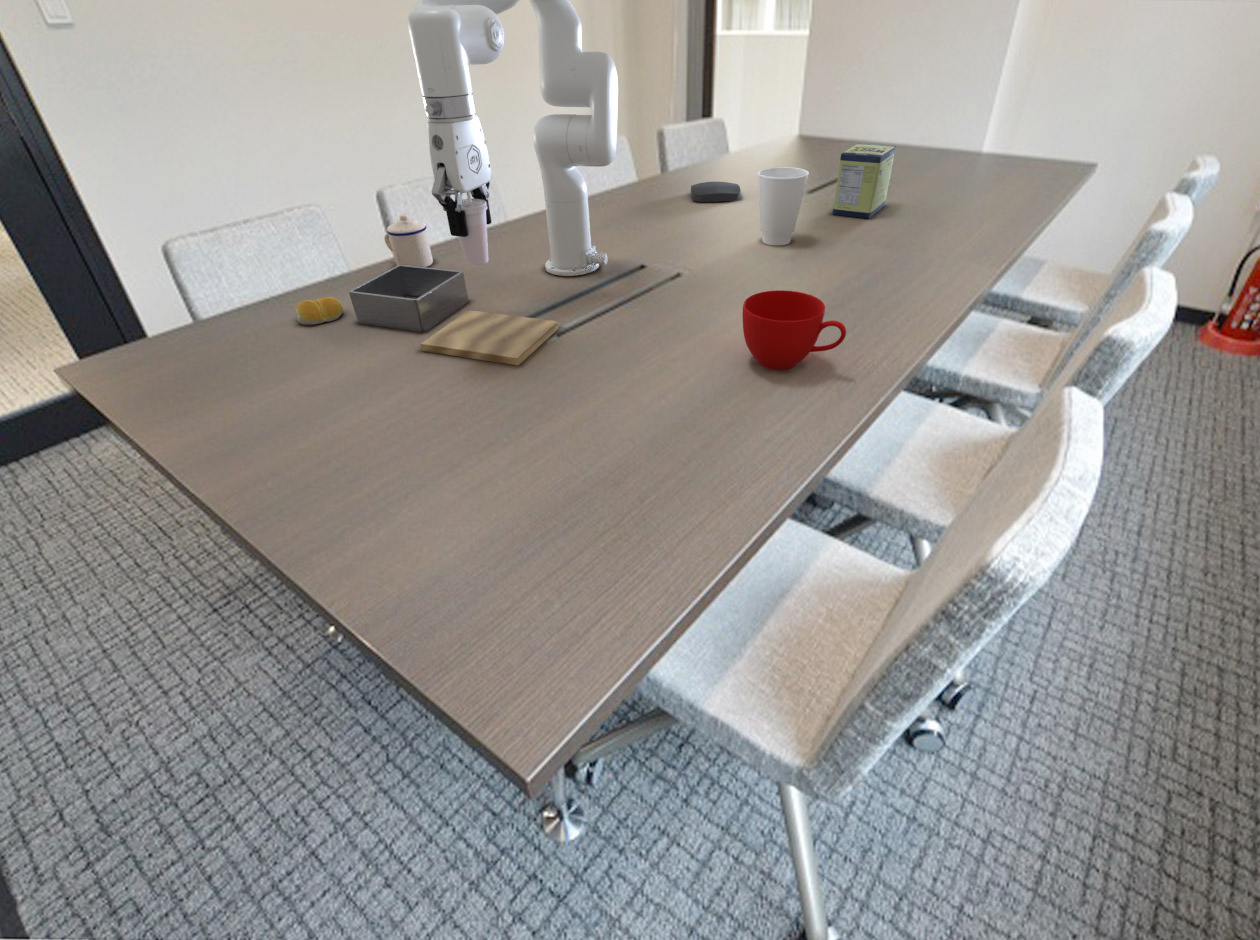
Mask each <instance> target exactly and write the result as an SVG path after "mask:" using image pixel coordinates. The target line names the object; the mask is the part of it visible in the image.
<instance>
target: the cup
mask: <svg viewBox="0 0 1260 940" xmlns="http://www.w3.org/2000/svg"><path fill="white" fill-rule="evenodd" d="M809 174H810V172H809V171H808V170H807V169H804V168H800V167H791V166H773V167H767V168H763V169H760V170H758V171H757V182H758V185H757V186H758V199H759V200H758V202H759V222H760V232H761V240H762V243H764V244H766V245H769V246H785V245H788V244H790V243H791V240H792V236H793V233H794V232H795V228H796V224H797V221H798V217H799V212H800V209H801V205H802V200H803V196H804V193H805V188H806V184H807V182H808V181H807V180H808V177H809V176H810V175H809Z"/></svg>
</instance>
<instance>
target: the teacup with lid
mask: <svg viewBox="0 0 1260 940" xmlns="http://www.w3.org/2000/svg"><path fill="white" fill-rule="evenodd" d="M398 218H399V219H397V220H395V221H394V223H392V224H389V225H388V226H387V228H386V233H385V234H384V235H383V237H384V243H385V245H386V247H387V248H388V250H389V251H391V252H392V253H393V257H394V261H395V265H396V266H398V265H408V266H417V267H427V268H429V267H430V266H432V264H433V262H434V260H433V255H432V250H431V246H430V242H429V237H428V232H427V225H426V223H425V222H423V221H421V220H415V219H414V218H410V217H409V215H408V214H407V213H403V214H400V215H399V217H398Z"/></svg>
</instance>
